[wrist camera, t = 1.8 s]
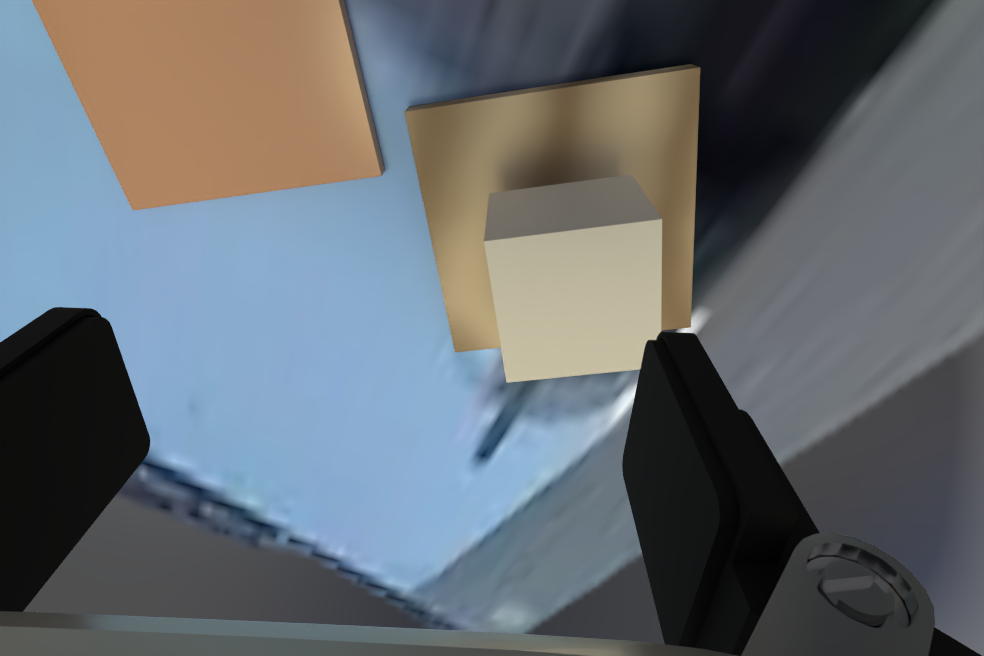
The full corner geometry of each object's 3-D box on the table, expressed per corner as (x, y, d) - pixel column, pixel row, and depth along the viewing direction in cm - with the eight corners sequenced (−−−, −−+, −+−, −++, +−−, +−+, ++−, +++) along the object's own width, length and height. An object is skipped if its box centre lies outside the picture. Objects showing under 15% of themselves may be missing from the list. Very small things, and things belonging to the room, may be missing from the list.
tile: (304, -166, 23) (296, -172, 23) (385, 170, 30) (381, 175, 30) (-2, -104, 25) (-20, -108, 24) (143, 204, 32) (132, 210, 31)
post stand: (691, 64, 27) (768, 93, 19) (683, 314, 34) (738, 414, 26) (409, 106, 29) (368, 150, 21) (457, 339, 36) (441, 442, 27)
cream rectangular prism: (631, 174, 26) (662, 218, 21) (634, 301, 29) (661, 366, 24) (489, 193, 26) (483, 241, 21) (507, 315, 30) (506, 382, 25)
